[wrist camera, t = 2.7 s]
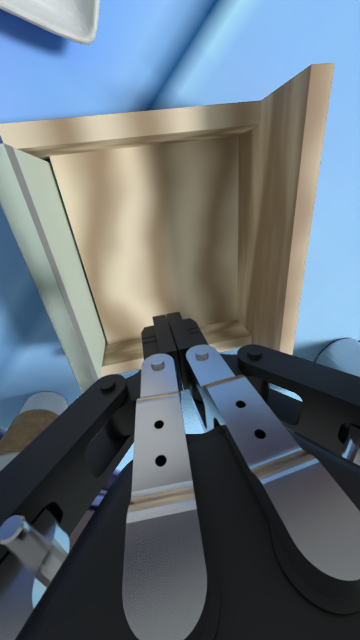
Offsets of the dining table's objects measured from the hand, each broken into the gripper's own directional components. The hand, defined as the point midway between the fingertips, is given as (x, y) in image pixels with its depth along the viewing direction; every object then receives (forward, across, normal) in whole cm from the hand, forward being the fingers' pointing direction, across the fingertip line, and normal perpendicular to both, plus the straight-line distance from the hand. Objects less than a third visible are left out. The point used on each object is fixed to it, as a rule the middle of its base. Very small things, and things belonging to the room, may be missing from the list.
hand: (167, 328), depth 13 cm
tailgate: (+18, +9, 0) cm, 20 cm away
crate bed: (+18, -1, 0) cm, 18 cm away
